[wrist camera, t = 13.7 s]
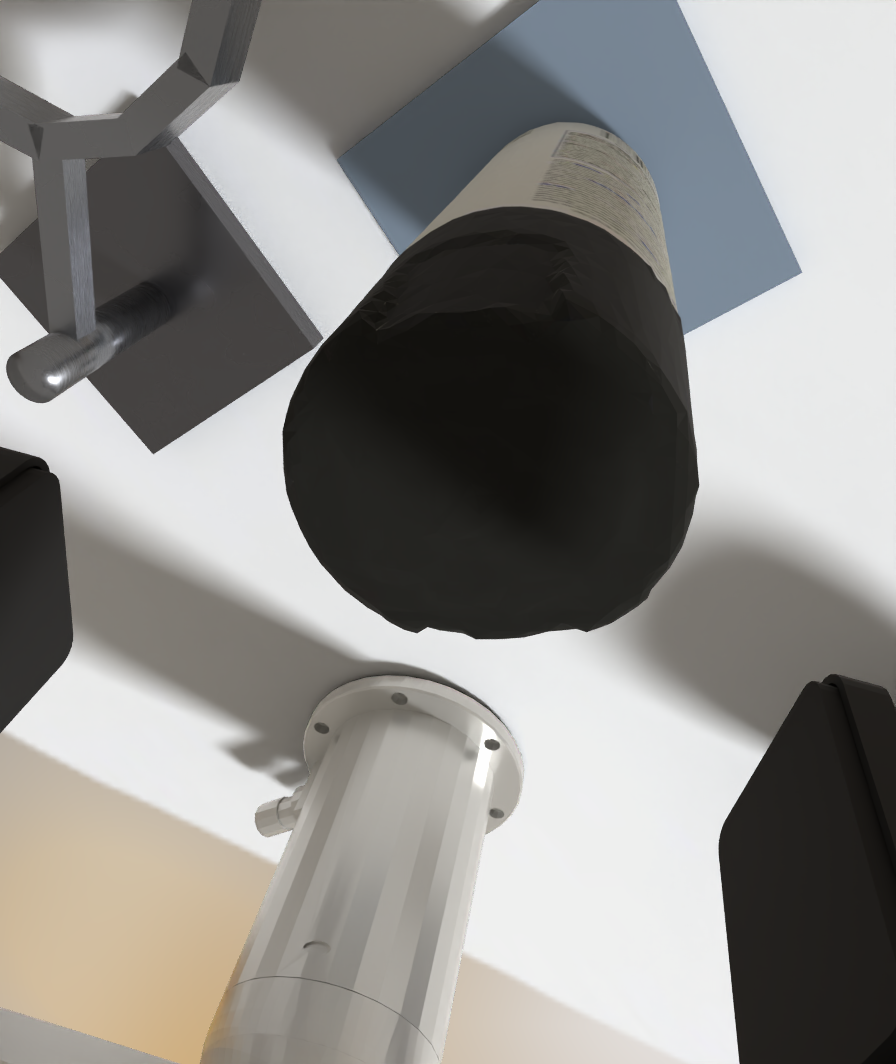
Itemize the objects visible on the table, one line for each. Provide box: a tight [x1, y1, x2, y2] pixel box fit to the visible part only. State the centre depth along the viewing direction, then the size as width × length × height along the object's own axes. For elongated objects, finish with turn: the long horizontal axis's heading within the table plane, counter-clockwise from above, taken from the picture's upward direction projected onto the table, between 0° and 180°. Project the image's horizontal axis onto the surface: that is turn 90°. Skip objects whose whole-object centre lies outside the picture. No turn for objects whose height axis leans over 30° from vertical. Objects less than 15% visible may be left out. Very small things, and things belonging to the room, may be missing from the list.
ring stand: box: [0, 0, 323, 454], centre depth 27 cm, size 20×20×9 cm
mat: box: [337, 0, 802, 335], centre depth 29 cm, size 12×12×1 cm
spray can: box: [283, 122, 699, 639], centre depth 21 cm, size 7×7×20 cm
